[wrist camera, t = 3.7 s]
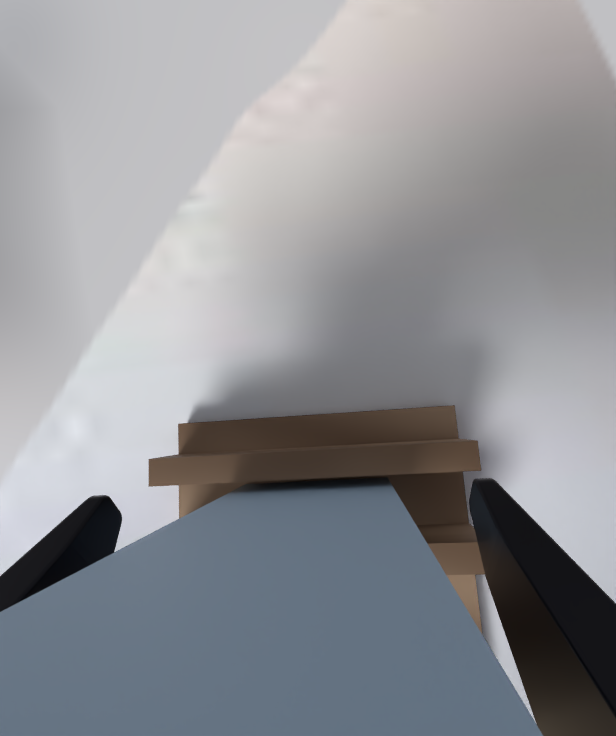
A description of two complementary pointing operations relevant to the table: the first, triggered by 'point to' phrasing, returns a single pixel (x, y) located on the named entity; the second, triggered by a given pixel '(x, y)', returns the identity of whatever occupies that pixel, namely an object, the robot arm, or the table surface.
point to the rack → (343, 469)
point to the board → (259, 630)
